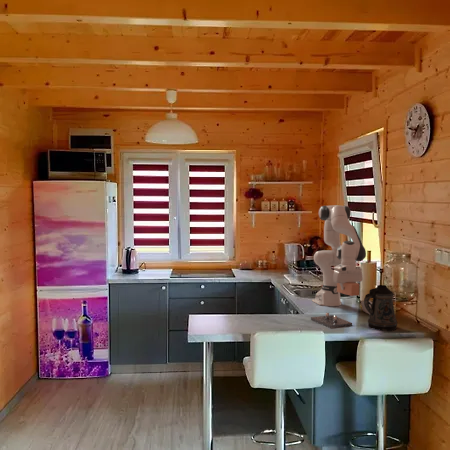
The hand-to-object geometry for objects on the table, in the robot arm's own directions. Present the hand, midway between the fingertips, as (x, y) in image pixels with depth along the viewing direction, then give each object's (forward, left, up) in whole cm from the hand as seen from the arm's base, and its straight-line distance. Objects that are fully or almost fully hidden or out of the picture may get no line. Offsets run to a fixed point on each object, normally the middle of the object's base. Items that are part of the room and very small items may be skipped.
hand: (347, 289), depth 291 cm
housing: (0, 0, -3) cm, 3 cm away
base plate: (+1, -13, -20) cm, 23 cm away
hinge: (-9, +26, -20) cm, 34 cm away
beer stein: (+21, +8, -20) cm, 30 cm away
